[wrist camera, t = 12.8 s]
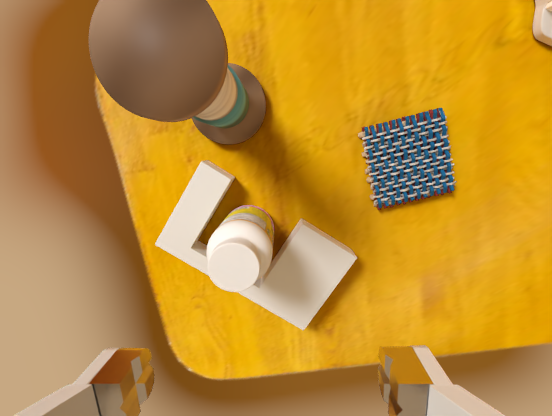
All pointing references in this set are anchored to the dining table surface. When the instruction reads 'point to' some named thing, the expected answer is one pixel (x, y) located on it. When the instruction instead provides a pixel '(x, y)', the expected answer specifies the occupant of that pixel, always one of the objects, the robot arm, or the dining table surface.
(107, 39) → the bobbin
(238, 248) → the supplement bottle
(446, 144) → the woven mat
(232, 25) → the dining table surface
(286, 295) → the notched board
